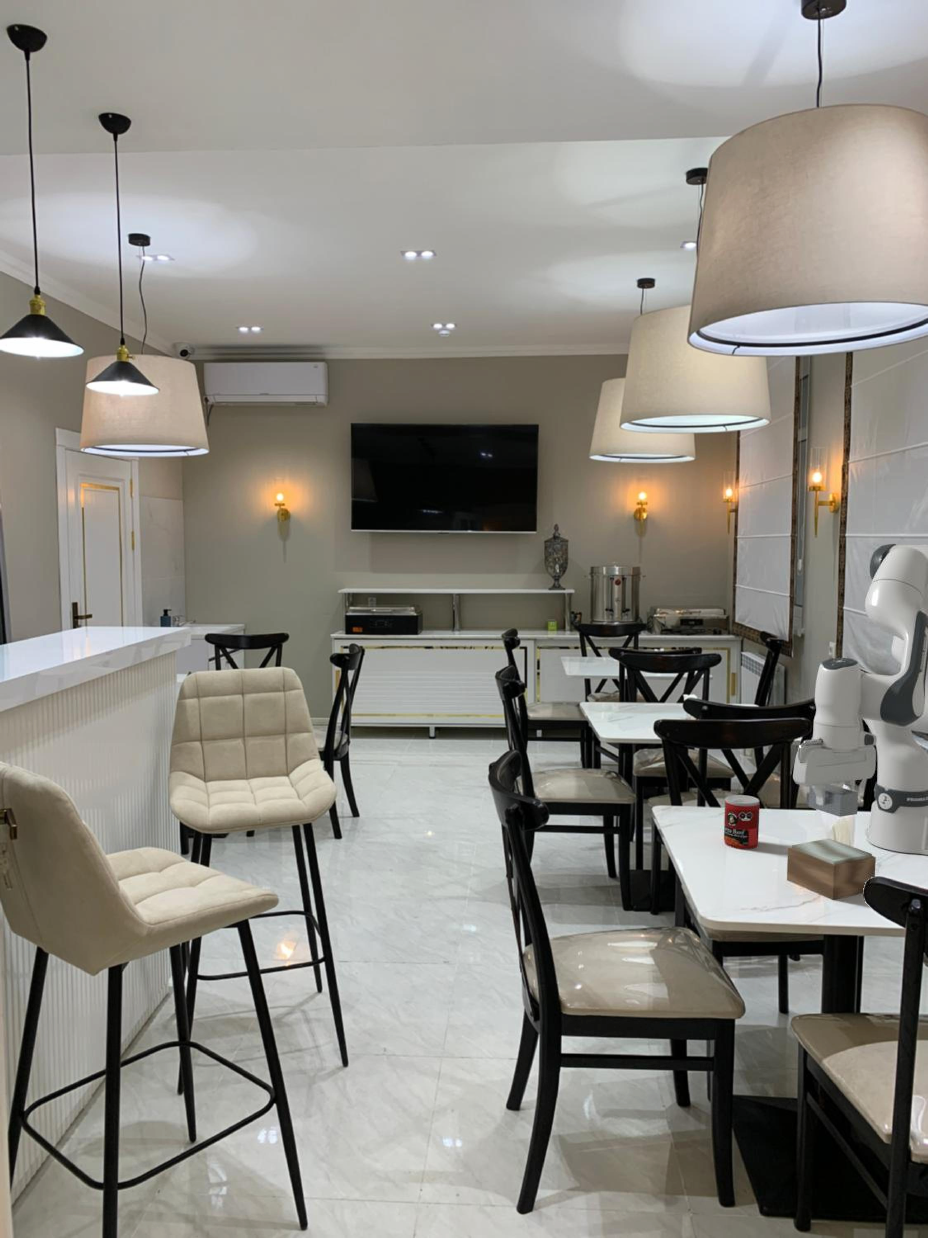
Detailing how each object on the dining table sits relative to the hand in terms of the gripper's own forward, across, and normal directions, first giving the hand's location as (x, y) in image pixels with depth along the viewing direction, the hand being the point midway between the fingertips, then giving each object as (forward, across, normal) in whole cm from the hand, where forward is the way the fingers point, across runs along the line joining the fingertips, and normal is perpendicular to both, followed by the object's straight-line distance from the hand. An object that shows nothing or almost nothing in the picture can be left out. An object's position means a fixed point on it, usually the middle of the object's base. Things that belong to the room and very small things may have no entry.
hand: (833, 803), depth 184 cm
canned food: (+18, +2, +28) cm, 33 cm away
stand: (+18, 0, 0) cm, 18 cm away
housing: (+2, 0, 0) cm, 2 cm away
